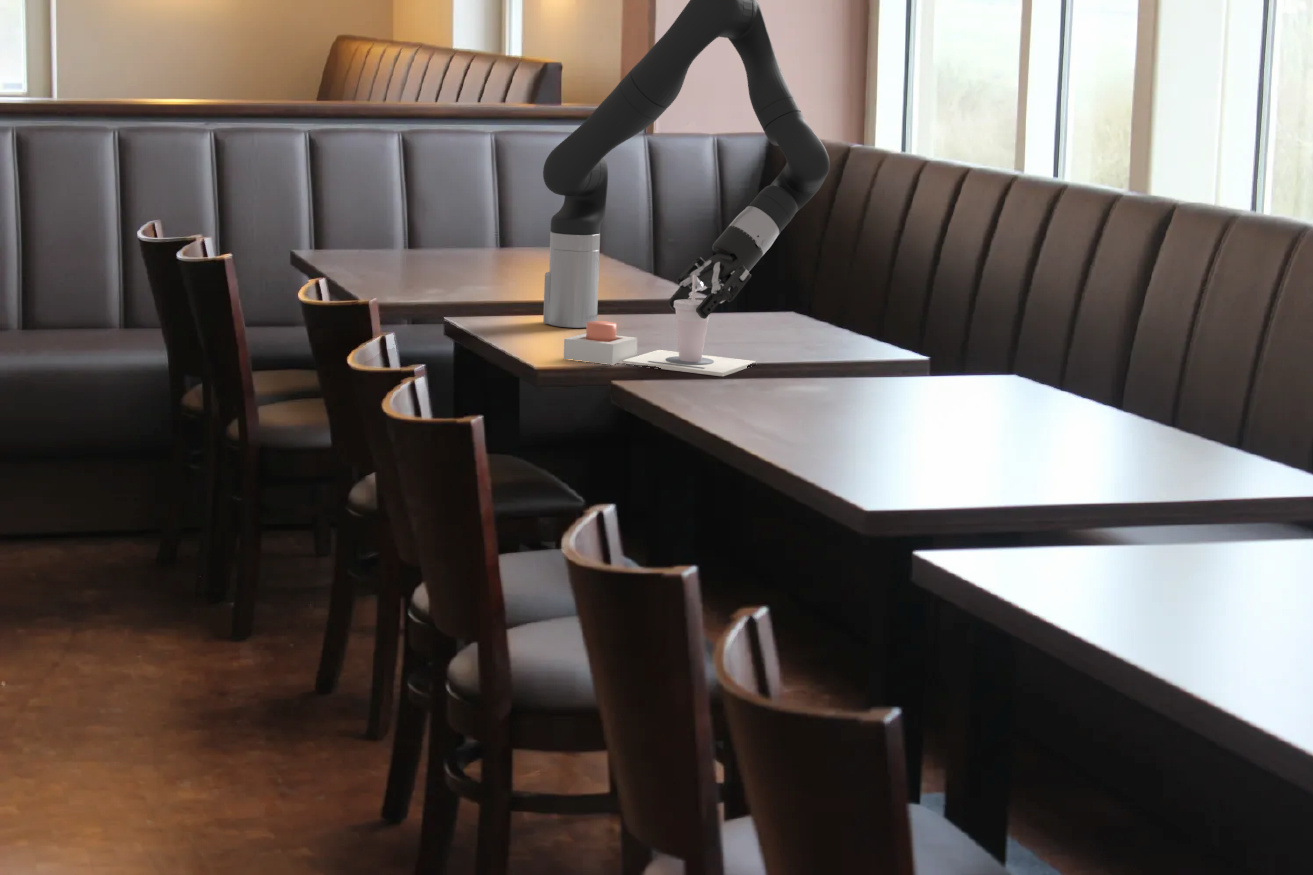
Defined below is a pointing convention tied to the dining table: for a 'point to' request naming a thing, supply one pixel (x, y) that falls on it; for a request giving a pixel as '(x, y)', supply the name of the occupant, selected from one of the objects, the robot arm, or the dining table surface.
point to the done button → (601, 331)
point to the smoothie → (690, 328)
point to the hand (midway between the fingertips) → (685, 311)
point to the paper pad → (690, 363)
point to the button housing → (600, 349)
